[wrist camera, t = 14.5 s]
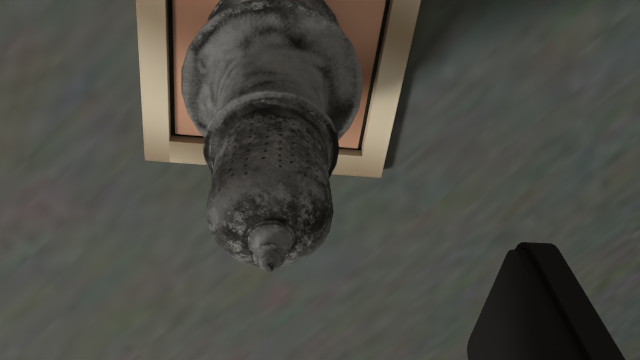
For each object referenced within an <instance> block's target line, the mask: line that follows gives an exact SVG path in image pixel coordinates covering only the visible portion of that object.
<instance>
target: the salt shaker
mask: <svg viewBox="0 0 640 360" xmlns="http://www.w3.org/2000/svg"><path fill="white" fill-rule="evenodd" d="M362 91H363V84H362V72H361V65H360V63H359V60H358V57H357V55H356V52H355V50H354V47H353V45H352V43H351V42H350V40H349V39H348V38H347V37H346V35H345V34H344V33H343V31H342V30H341V29H340V26H339V24H338V21H337V19H336V16H335V14H334V13H333V12H332V10H331V9H330V8H329V6H328V5H327V4H326V2H325V1H324V0H220V1H219V2H218V3H217V5H216V6H215V8H214V9H213V11H212V12H211V14H210V15H209V17H208V20H207V23H206V24H205V25H204V26H202V27H201V29H200V30H199V32H198V33H197V35H196V36H195V38H194V39H193V41H192V42H191V44H190V45H189V47H188V49H187V53H186V56H185V59H184V63H183V66H182V69H181V93H182V96H183V100H184V103H185V107H186V110H187V113H188V115H189V117H190V118H191V120H192V122H193V123H194V125H195V126H196V128H197V130H198V131H199V133H200V134H202V135H203V136H204V142H203V154H204V158H205V161H206V165H207V168H208V170H209V171H210V173H211V174H212V179H211V184H210V190H209V196H208V201H207V220H208V224H209V228H210V231H211V234H212V236H213V238H214V239H215V241H216V242H217V243H218V245H219V246H220V247H221V248H222V249H223V250H225V251H226V252H227V253H228V254H229V255H231V256H232V257H234V258H235V259H237V260H239V261H241V262H243V263H245V264H249V265H253V266H257V267H260V268H262V269H263V270H265V271H267V272H272V271H274V270H276V269H278V268H279V267H282V266H287V265H290V264H293V263H296V262H299V261H300V260H302V259H304V258H305V257H307V256H309V255H310V254H312V253H313V252H314V251H315V250H316V249H317V248H318V247H319V246H320V245H321V244H322V243H323V242H324V240H325V239H326V237H327V235H328V233H329V231H330V227H331V222H332V217H333V212H334V211H333V204H332V196H331V189H330V182H329V178H330V176H331V174H332V172H333V170H334V168H335V167H336V165H337V160H338V155H339V143H338V141H339V139H340V138H341V137H342V136H343V135H344V134H345V133H346V132H347V130H348V129H349V128H350V126H351V124H352V122H353V120H354V118H355V116H356V114H357V112H358V110H359V106H360V101H361V96H362Z"/></svg>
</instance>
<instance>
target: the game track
mask: <svg viewBox="0 0 640 360" xmlns="http://www.w3.org/2000/svg"><path fill="white" fill-rule="evenodd" d="M219 1H220V0H172V2H173V51H174V100H175V134H184V135H197V136H203V135H202V134H200V133H199V131H198V130H197V128H196V126H195V125H194V123H193V122H192V120H191V118H190V117H189V115H188V113H187V110H186V107H185V103H184V100H183V96H182V93H181V69H182V66H183V63H184V59H185V56H186V53H187V49H188V47H189V45H190V44H191V42H192V41H193V39H194V38H195V36H196V35H197V33H198V32H199V30H200V29H201V27H202V26H204V25H205V24H206V23H207V20H208V17H209V15H210V14H211V12H212V11H213V9H214V8H215V6H216V5H217V3H218V2H219ZM324 1H325V2H326V4H327V5H328V6H329V8H330V9H331V10H332V12H333V13H334V14H335V16H336V19H337V21H338V24H339V26H340V29H341V30H342V31H343V33H344V34H345V35H346V37H347V38H348V39H349V40H350V42H351V43H352V45H353V47H354V50H355V52H356V55H357V57H358V60H359V63H360V65H361V72H362V84H363V91H362V96H361V101H360V106H359V110H358V112H357V114H356V116H355V118H354V120H353V122H352V124H351V126H350V128H349V129H348V130H347V132H346V133H345V134H344V135H343V136H342V137H341V138H340V139H339V141H338V143H339V147H347V148H358V144H359V139H360V134H361V128H362V123H363V118H364V113H365V107H366V102H367V97H368V92H369V86H370V81H371V76H372V71H373V65H374V60H375V55H376V50H377V44H378V39H379V34H380V29H381V24H382V18H383V13H384V8H385V3H386V0H324ZM420 3H421V0H390V4H389V9H388V14H387V19H386V24H385V30H384V35H383V40H382V45H381V50H380V55H379V60H378V65H377V71H376V76H375V81H374V86H373V91H372V96H371V101H370V106H369V112H368V117H367V122H366V127H365V132H364V137H363V142H362V147H361V150H351V149H339V155H338V160H337V165H336V167H335V168H334V170H333V172H332V174H338V175H352V176H366V177H379V178H381V176H382V171H383V167H384V162H385V158H386V153H387V149H388V145H389V140H390V136H391V131H392V127H393V122H394V118H395V114H396V109H397V105H398V100H399V96H400V91H401V87H402V83H403V78H404V74H405V69H406V65H407V60H408V56H409V52H410V47H411V43H412V38H413V34H414V29H415V25H416V20H417V16H418V12H419V7H420ZM136 10H137V28H138V46H139V63H140V81H141V99H142V116H143V134H144V152H145V160H149V161H162V162H176V163H189V164H203V165H206V161H205V158H204V154H203V142H204V138H200V137H187V136H175V135H171V112H170V72H169V32H168V0H136Z"/></svg>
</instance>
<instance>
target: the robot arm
mask: <svg viewBox="0 0 640 360" xmlns="http://www.w3.org/2000/svg"><path fill="white" fill-rule="evenodd" d="M467 354H468V359H469V360H625V358H624V357H623V355H622V353H621V352H620V350H619V348H618V347H617V345H616V344H615V342H614V340H613V339H612V337H611V335H610V334H609V332H608V330H607V329H606V327H605V325H604V324H603V322H602V320H601V319H600V317H599V315H598V314H597V312H596V310H595V309H594V307H593V306H592V304H591V302H590V301H589V299H588V297H587V296H586V294H585V292H584V291H583V289H582V287H581V286H580V284H579V282H578V281H577V279H576V277H575V276H574V274H573V272H572V271H571V269H570V267H569V266H568V264H567V263H566V261H565V259H564V258H563V256H562V254H561V253H560V251H559V249H558V248H557V247H556V246H555V245H553V244H549V243H529V242H522V243H520V244H519V245H517V247H516V249H515V250H510V251H509V252H508V253H507V255H506V257H505V259H504V261H503V264H502V266H501V268H500V271H499V273H498V275H497V277H496V280H495V282H494V284H493V286H492V289H491V291H490V293H489V295H488V298H487V300H486V302H485V304H484V307H483V309H482V311H481V314H480V316H479V318H478V320H477V323H476V325H475V327H474V329H473V332H472V334H471V336H470V338H469V341H468V346H467Z"/></svg>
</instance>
